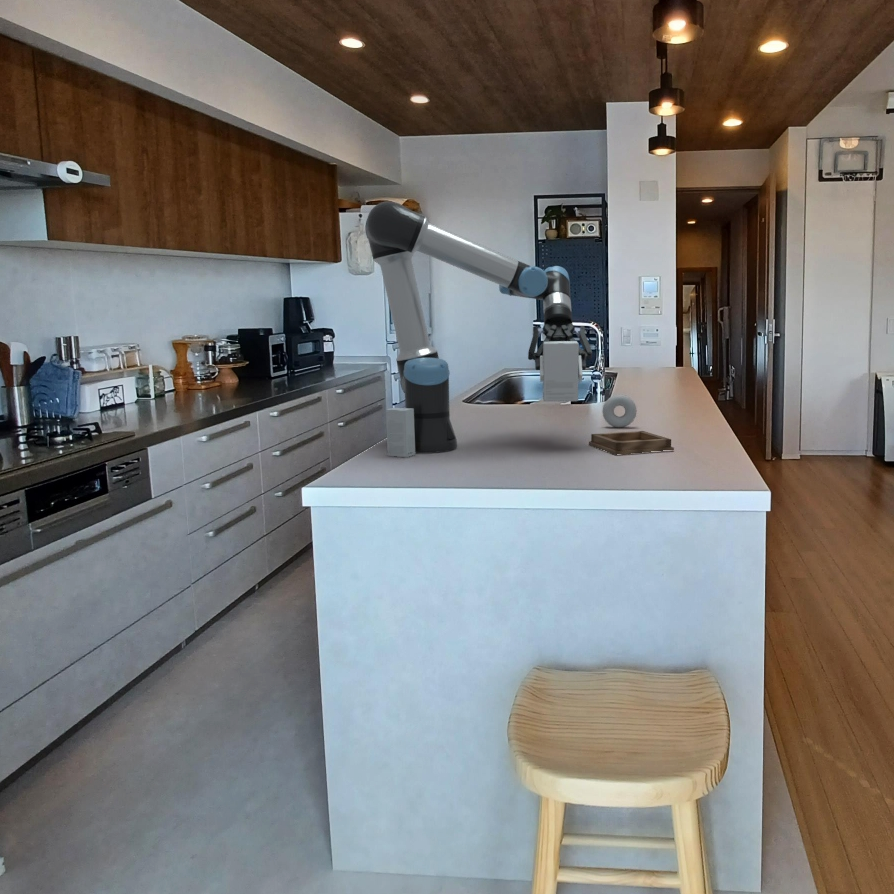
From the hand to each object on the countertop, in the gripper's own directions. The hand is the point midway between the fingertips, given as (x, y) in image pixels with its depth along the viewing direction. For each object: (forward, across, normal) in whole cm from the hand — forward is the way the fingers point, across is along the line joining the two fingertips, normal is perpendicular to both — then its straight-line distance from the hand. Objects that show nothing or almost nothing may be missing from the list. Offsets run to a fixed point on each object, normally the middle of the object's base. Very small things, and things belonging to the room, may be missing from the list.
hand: (561, 378), depth 220 cm
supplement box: (+2, 0, -7) cm, 7 cm away
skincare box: (+18, +41, -8) cm, 45 cm away
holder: (+12, -18, -13) cm, 26 cm away
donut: (-12, -20, -38) cm, 45 cm away
